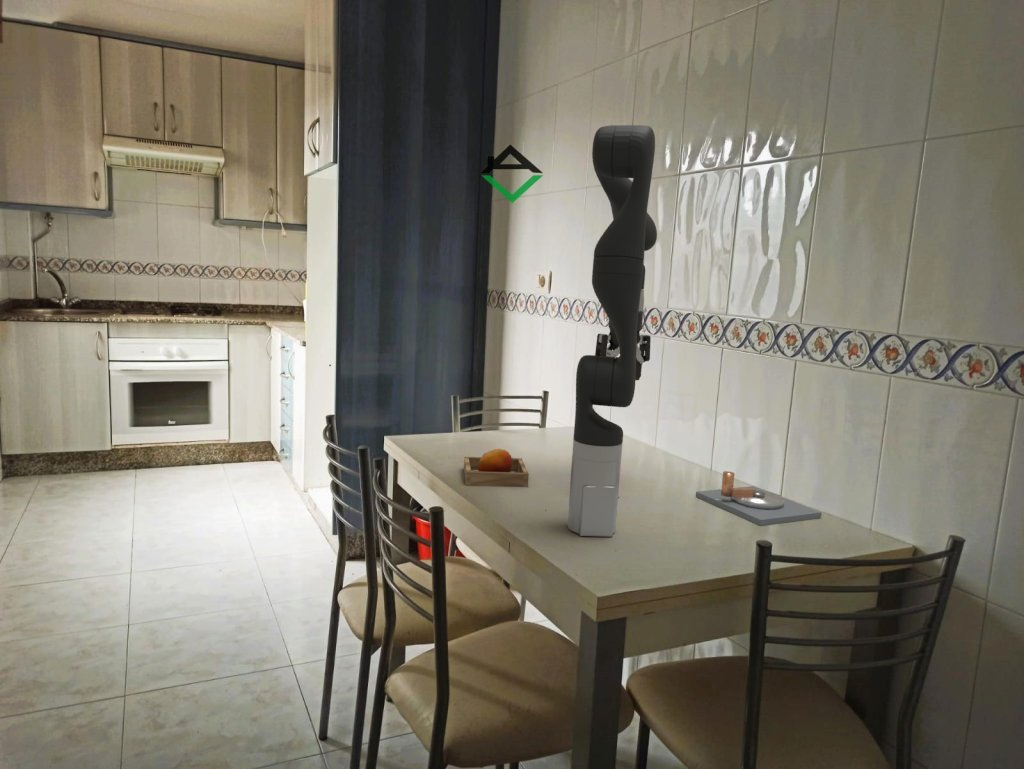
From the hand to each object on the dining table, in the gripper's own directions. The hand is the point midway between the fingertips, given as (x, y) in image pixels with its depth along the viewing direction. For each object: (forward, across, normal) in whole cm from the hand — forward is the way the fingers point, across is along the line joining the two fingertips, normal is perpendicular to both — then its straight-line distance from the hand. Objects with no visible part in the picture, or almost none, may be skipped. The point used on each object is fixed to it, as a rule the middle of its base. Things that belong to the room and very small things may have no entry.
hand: (620, 380), depth 170 cm
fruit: (+25, -22, +16) cm, 37 cm away
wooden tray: (+25, -22, +16) cm, 37 cm away
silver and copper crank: (+24, +19, -24) cm, 39 cm away
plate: (+25, +20, -25) cm, 40 cm away
